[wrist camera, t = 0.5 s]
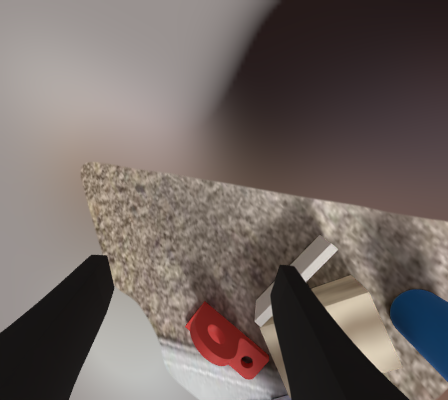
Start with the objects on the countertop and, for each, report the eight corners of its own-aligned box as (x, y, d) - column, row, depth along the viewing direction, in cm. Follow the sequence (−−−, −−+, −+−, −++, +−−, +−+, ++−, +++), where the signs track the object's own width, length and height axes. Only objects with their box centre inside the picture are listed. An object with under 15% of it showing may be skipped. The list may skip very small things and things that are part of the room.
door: (325, 239, 32) (338, 249, 26) (261, 305, 34) (260, 327, 28) (319, 234, 32) (331, 243, 26) (255, 300, 34) (254, 321, 28)
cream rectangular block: (378, 337, 31) (402, 367, 26) (285, 364, 34) (289, 398, 28) (350, 274, 32) (369, 292, 26) (260, 306, 34) (259, 328, 28)
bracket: (187, 322, 36) (166, 358, 28) (204, 300, 35) (188, 331, 28) (250, 376, 35) (246, 430, 27) (269, 354, 34) (270, 403, 26)
